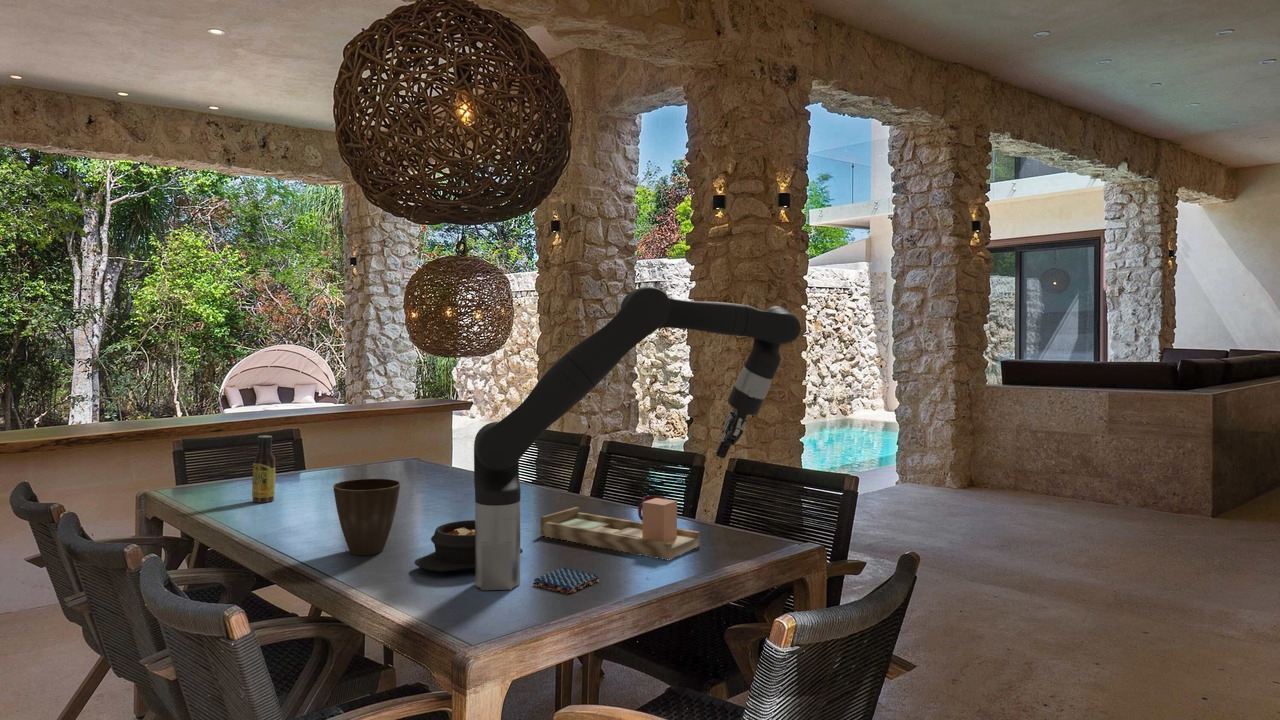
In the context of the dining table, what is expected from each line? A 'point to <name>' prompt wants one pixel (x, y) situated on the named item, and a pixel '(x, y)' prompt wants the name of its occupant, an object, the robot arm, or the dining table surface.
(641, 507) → the mug
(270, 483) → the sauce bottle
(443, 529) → the casserole
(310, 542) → the dining table surface
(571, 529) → the tray
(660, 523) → the terracotta block
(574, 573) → the woven mat
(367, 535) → the plant pot
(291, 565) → the dining table surface
